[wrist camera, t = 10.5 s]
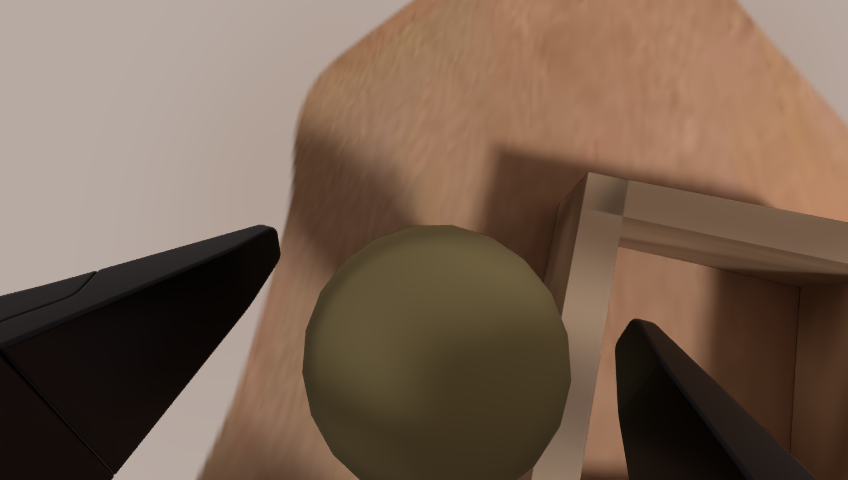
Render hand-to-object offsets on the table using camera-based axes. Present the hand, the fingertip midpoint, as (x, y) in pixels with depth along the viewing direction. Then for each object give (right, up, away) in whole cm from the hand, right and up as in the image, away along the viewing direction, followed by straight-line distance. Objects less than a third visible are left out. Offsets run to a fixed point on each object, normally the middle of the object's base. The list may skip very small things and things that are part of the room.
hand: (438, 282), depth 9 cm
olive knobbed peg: (+1, -3, +8) cm, 8 cm away
